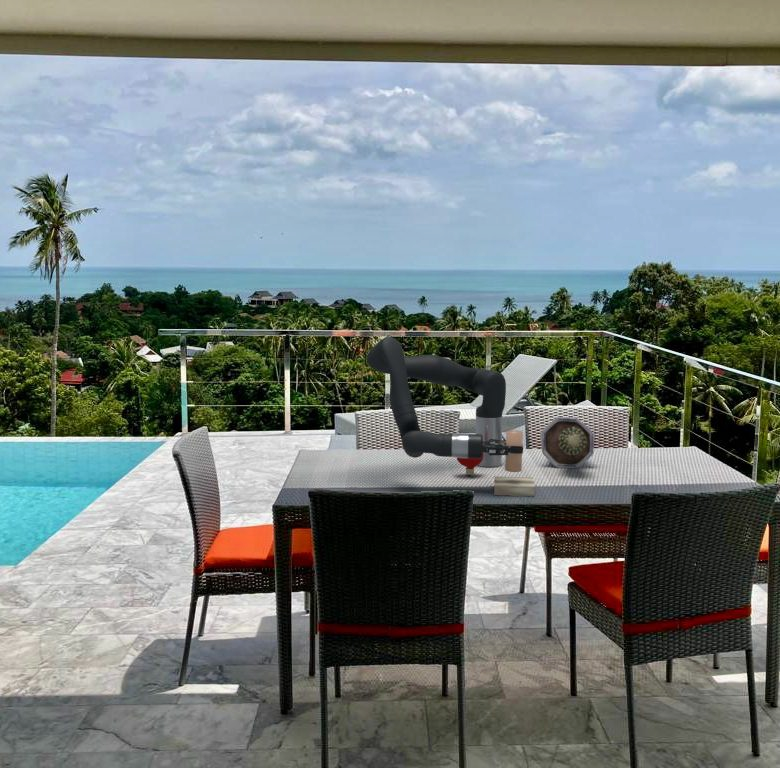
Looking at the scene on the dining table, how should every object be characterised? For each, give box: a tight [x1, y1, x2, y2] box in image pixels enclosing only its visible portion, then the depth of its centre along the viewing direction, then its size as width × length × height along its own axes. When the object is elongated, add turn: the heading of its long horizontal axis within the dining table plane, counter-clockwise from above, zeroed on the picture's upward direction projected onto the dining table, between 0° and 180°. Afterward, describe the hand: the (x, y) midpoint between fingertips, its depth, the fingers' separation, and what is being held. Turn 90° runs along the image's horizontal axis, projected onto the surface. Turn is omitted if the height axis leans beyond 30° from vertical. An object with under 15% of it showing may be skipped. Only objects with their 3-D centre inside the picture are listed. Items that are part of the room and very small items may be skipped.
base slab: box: [493, 476, 536, 497], centre depth 261 cm, size 12×12×3 cm
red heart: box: [456, 453, 484, 477], centre depth 280 cm, size 9×7×10 cm
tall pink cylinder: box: [504, 429, 524, 473], centre depth 259 cm, size 5×5×12 cm
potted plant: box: [540, 416, 595, 469], centre depth 289 cm, size 18×18×30 cm
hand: (522, 448), depth 259 cm, fingers closed on tall pink cylinder, 5 cm apart
